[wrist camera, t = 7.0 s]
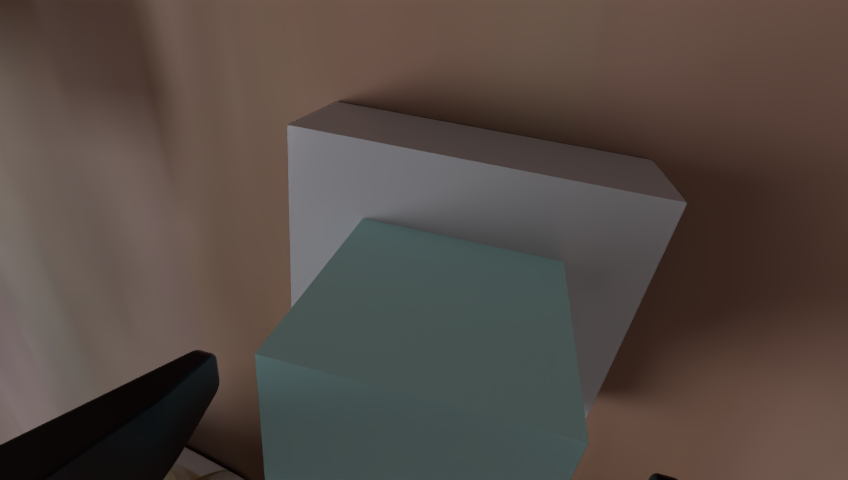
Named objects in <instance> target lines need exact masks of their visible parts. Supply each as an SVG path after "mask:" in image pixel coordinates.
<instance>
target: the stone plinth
mask: <svg viewBox="0 0 848 480" xmlns="http://www.w3.org/2000/svg"><path fill="white" fill-rule="evenodd" d="M287 136H288V179H289V222H290V265H291V307H293V305H294V304H295V303H296V302H297V300H298V299H299V298H300V297H301V295H302V294H303V293H304V292H305V290H306V289H307V288H308V287H309V285H310V284H311V283H312V282H313V280H314V279H315V278H316V277H317V275H318V274H319V273H320V272H321V270H322V269H323V268H324V266H325V265H326V264H327V263H328V261H329V260H330V259H331V258H332V256H333V255H334V254H335V253H336V251H337V250H338V249H339V248H340V246H341V245H342V244H343V243H344V241H345V240H346V239H347V238H348V236H349V235H350V234H351V233H352V231H353V230H354V229H355V227H356V226H357V225H358V224H359V222H360V221H361V220H362V219H363V218H366V219H370V220H375V221H379V222H384V223H388V224H393V225H398V226H402V227H407V228H411V229H416V230H421V231H425V232H430V233H434V234H439V235H443V236H448V237H453V238H457V239H462V240H466V241H471V242H475V243H480V244H485V245H489V246H494V247H498V248H503V249H507V250H512V251H517V252H521V253H526V254H530V255H535V256H539V257H544V258H549V259H553V260H558V261H562V262H564V268H565V275H566V282H567V289H568V297H569V304H570V311H571V318H572V326H573V333H574V340H575V347H576V355H577V362H578V369H579V377H580V384H581V391H582V398H583V406H584V413H585V420H586V418H587V416H588V414H589V412H590V409H591V407H592V405H593V403H594V401H595V399H596V397H597V394H598V392H599V390H600V388H601V386H602V384H603V382H604V380H605V377H606V375H607V373H608V371H609V369H610V367H611V365H612V362H613V360H614V358H615V356H616V354H617V352H618V350H619V348H620V345H621V343H622V341H623V339H624V337H625V335H626V333H627V331H628V328H629V326H630V324H631V322H632V320H633V318H634V316H635V313H636V311H637V309H638V307H639V305H640V303H641V301H642V299H643V296H644V294H645V292H646V290H647V288H648V286H649V284H650V281H651V279H652V277H653V275H654V273H655V271H656V269H657V267H658V264H659V262H660V260H661V258H662V256H663V254H664V252H665V250H666V247H667V245H668V243H669V241H670V239H671V237H672V235H673V232H674V230H675V228H676V226H677V224H678V222H679V220H680V218H681V215H682V213H683V211H684V209H685V207H686V205H687V202H686V201H685V199H684V198H683V197H682V196H681V194H680V193H679V192H678V191H677V190H676V188H675V187H674V186H673V185H672V183H671V182H670V181H669V180H668V179H667V177H666V176H665V175H664V174H663V172H662V171H661V170H660V169H659V168H658V166H657V165H656V164H655V163H654V161H653V160H649V159H644V158H639V157H633V156H628V155H622V154H617V153H612V152H606V151H601V150H595V149H590V148H585V147H579V146H574V145H569V144H563V143H558V142H552V141H547V140H542V139H536V138H531V137H525V136H520V135H515V134H509V133H504V132H498V131H493V130H488V129H482V128H477V127H472V126H466V125H461V124H455V123H450V122H445V121H439V120H434V119H428V118H423V117H418V116H412V115H407V114H402V113H396V112H391V111H385V110H380V109H375V108H369V107H364V106H358V105H353V104H348V103H342V102H337V101H336V102H334V103H332V104H330V105H327V106H325V107H323V108H321V109H319V110H317V111H315V112H313V113H311V114H309V115H307V116H304V117H302V118H300V119H298V120H296V121H294V122H292V123H290V124H288V125H287Z"/></svg>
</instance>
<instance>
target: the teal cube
mask: <svg viewBox="0 0 848 480" xmlns="http://www.w3.org/2000/svg"><path fill="white" fill-rule="evenodd" d="M255 360H256V373H257V386H258V398H259V411H260V423H261V436H262V448H263V461H264V473H265V480H570V479H571V477H572V475H573V473H574V471H575V469H576V467H577V465H578V463H579V461H580V459H581V457H582V455H583V453H584V451H585V449H586V447H587V445H588V443H589V442H588V435H587V427H586V420H585V413H584V406H583V398H582V391H581V384H580V377H579V369H578V362H577V355H576V347H575V340H574V333H573V326H572V318H571V311H570V304H569V297H568V289H567V282H566V275H565V268H564V262H562V261H558V260H553V259H549V258H544V257H539V256H535V255H530V254H526V253H521V252H517V251H512V250H507V249H503V248H498V247H494V246H489V245H485V244H480V243H475V242H471V241H466V240H462V239H457V238H453V237H448V236H443V235H439V234H434V233H430V232H425V231H421V230H416V229H411V228H407V227H402V226H398V225H393V224H388V223H384V222H379V221H375V220H370V219H366V218H363V219H362V220H361V221H360V222H359V224H358V225H357V226H356V227H355V229H354V230H353V231H352V233H351V234H350V235H349V236H348V238H347V239H346V240H345V241H344V243H343V244H342V245H341V246H340V248H339V249H338V250H337V251H336V253H335V254H334V255H333V256H332V258H331V259H330V260H329V261H328V263H327V264H326V265H325V266H324V268H323V269H322V270H321V272H320V273H319V274H318V275H317V277H316V278H315V279H314V280H313V282H312V283H311V284H310V285H309V287H308V288H307V289H306V290H305V292H304V293H303V294H302V295H301V297H300V298H299V299H298V300H297V302H296V303H295V304H294V305H293V307H292V308H291V309H290V311H289V312H288V313H287V314H286V316H285V317H284V318H283V319H282V321H281V322H280V323H279V324H278V326H277V327H276V328H275V329H274V331H273V332H272V333H271V334H270V336H269V337H268V338H267V339H266V341H265V342H264V343H263V344H262V346H261V347H260V348H259V350H258V351H257V352H256V353H255Z"/></svg>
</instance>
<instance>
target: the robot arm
mask: <svg viewBox="0 0 848 480" xmlns="http://www.w3.org/2000/svg"><path fill="white" fill-rule="evenodd" d="M218 387H219V373H218V366H217V359H216V357H215V355H214V354H212V353H208V352H204V351H201V350H195V351H192V352H190V353H188V354H186V355H184V356H181V357H179V358H177V359H175V360H173V361H171V362H169V363H167V364H165V365H163V366H161V367H159V368H157V369H155V370H153V371H151V372H149V373H147V374H145V375H143V376H141V377H139V378H136V379H134V380H132V381H130V382H128V383H126V384H124V385H122V386H120V387H118V388H116V389H114V390H112V391H110V392H108V393H106V394H104V395H102V396H100V397H98V398H96V399H93V400H91V401H89V402H87V403H85V404H83V405H81V406H79V407H77V408H75V409H73V410H71V411H69V412H67V413H65V414H63V415H61V416H59V417H57V418H55V419H53V420H51V421H48V422H46V423H44V424H42V425H40V426H38V427H36V428H34V429H32V430H30V431H28V432H26V433H24V434H22V435H20V436H18V437H16V438H14V439H12V440H10V441H8V442H6V443H3V444H1V445H0V480H163V479H164V478H165V477H166V475H167V474H168V472H169V471H170V470H171V468H172V467H173V465H174V464H175V462H176V461H177V459H178V458H179V456H180V454H181V453H182V451H183V449H184V448H185V446H186V444H187V443H188V441H189V439H190V437H191V436H192V434H193V432H194V430H195V429H196V427H197V425H198V423H199V422H200V420H201V418H202V417H203V415H204V413H205V411H206V410H207V408H208V406H209V404H210V403H211V401H212V399H213V397H214V396H215V394H216V392H217V390H218ZM649 480H677V479H676V478H673V477H670V476H666V475H662V474H659V473H655V474H652V475H651V476H650V478H649Z"/></svg>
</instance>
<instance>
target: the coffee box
mask: <svg viewBox="0 0 848 480" xmlns="http://www.w3.org/2000/svg"><path fill="white" fill-rule="evenodd" d="M163 480H245V479H243V478H241V477H239V476H238V475H236V474H234V473H232V472H230V471H228V470H227V469H225V468H223V467H221V466H219V465H217V464H216V463H214V462H212V461H210V460H208V459H206V458H205V457H203V456H201V455H199V454H197V453H195V452H194V451H192V450H190V449H188V448H186V447H185V448H184V449H183V451H182V453H181V454H180V456H179V458H178V459H177V461H176V462H175V464H174V465H173V467H172V468H171V470H170V471H169V472H168V474H167V475H166V477H165V478H164V479H163Z"/></svg>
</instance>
